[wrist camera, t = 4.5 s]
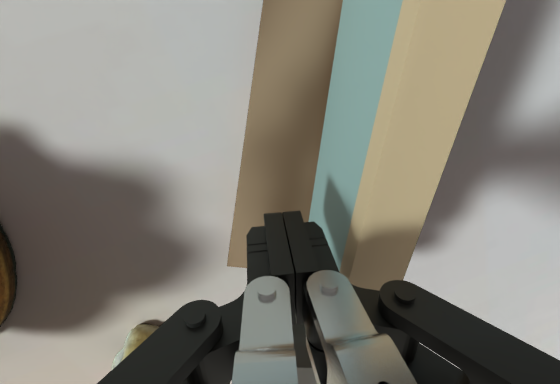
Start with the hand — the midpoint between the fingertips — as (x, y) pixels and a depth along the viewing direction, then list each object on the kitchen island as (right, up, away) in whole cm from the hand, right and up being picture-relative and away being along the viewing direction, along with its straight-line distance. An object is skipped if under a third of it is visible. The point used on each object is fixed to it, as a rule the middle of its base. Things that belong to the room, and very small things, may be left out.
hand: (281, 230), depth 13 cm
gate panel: (+3, +5, +4) cm, 7 cm away
